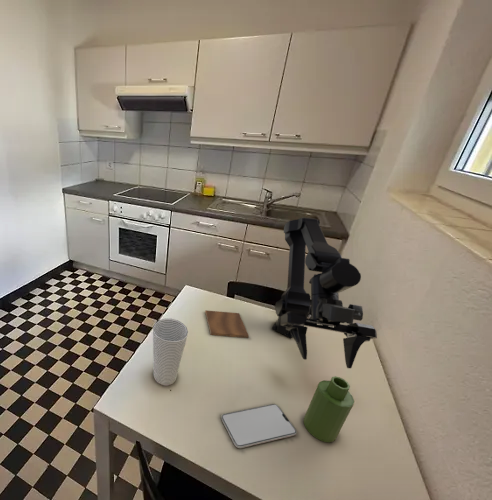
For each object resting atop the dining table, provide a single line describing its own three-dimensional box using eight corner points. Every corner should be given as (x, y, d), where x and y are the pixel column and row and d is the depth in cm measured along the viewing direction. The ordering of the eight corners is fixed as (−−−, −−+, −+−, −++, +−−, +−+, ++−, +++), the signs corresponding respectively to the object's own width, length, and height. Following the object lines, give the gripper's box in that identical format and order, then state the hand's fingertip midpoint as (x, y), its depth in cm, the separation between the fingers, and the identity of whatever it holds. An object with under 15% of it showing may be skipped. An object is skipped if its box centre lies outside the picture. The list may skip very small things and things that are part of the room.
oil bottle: (308, 409, 67) (326, 365, 61) (339, 428, 63) (362, 383, 57) (299, 427, 62) (318, 382, 57) (332, 448, 58) (356, 402, 53)
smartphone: (219, 414, 63) (276, 402, 67) (219, 416, 64) (275, 404, 67) (237, 447, 57) (298, 433, 60) (236, 449, 57) (298, 435, 61)
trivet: (238, 315, 100) (239, 313, 100) (248, 338, 89) (248, 335, 89) (205, 312, 100) (205, 310, 100) (210, 335, 89) (211, 332, 89)
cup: (142, 372, 74) (145, 325, 68) (166, 359, 79) (171, 314, 73) (163, 396, 68) (168, 346, 62) (187, 380, 73) (195, 332, 66)
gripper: (296, 282, 64) (296, 353, 58) (389, 296, 60) (398, 373, 54) (280, 293, 74) (278, 355, 68) (359, 306, 70) (364, 372, 65)
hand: (326, 363), depth 64 cm, fingers open, 9 cm apart
